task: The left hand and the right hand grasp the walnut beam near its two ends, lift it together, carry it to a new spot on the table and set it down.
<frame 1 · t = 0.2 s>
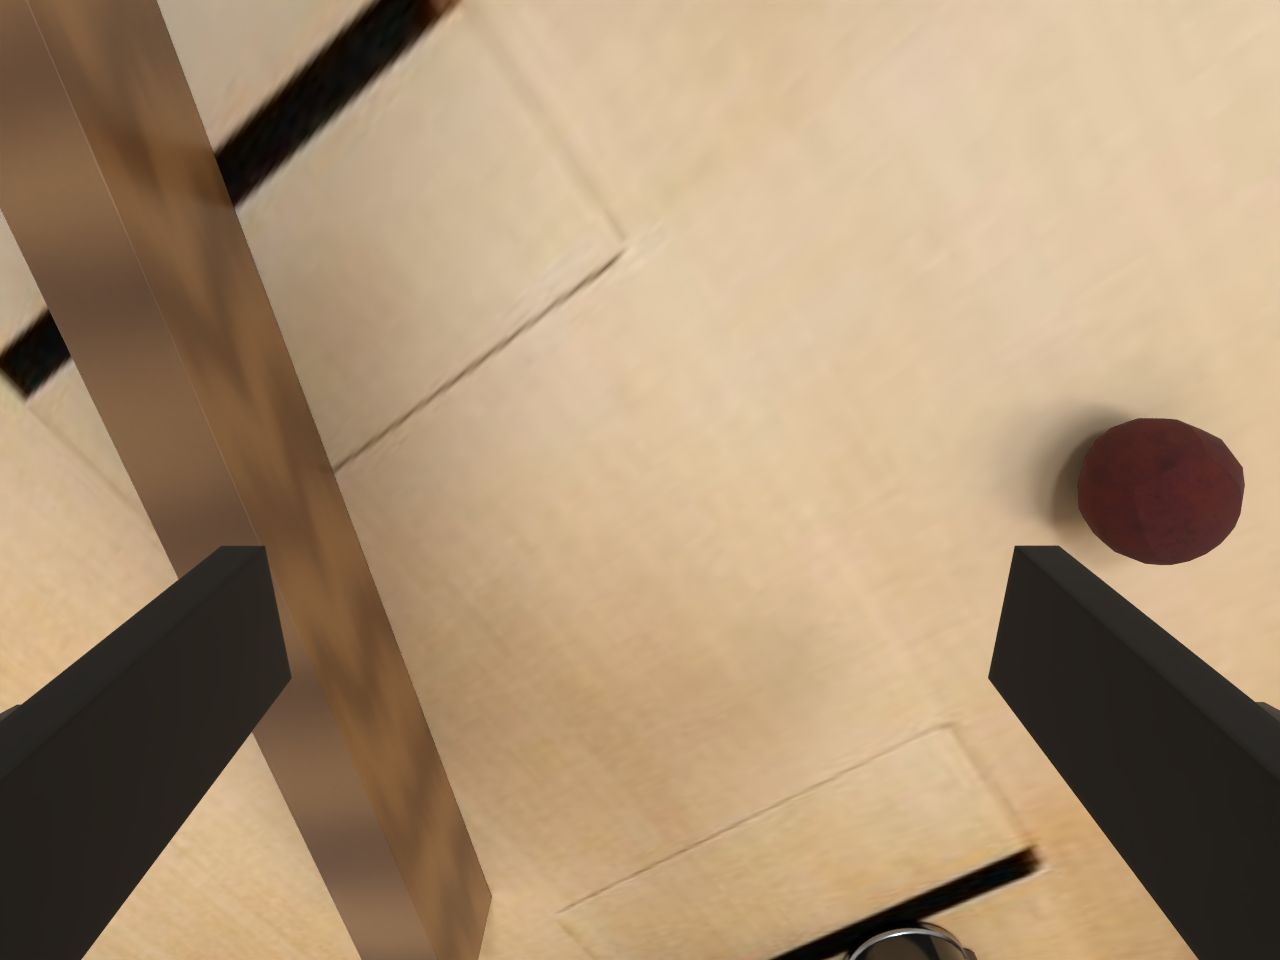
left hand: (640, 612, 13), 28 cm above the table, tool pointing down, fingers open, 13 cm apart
beam: (293, 473, 41), on the table
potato: (1113, 465, 41), on the table
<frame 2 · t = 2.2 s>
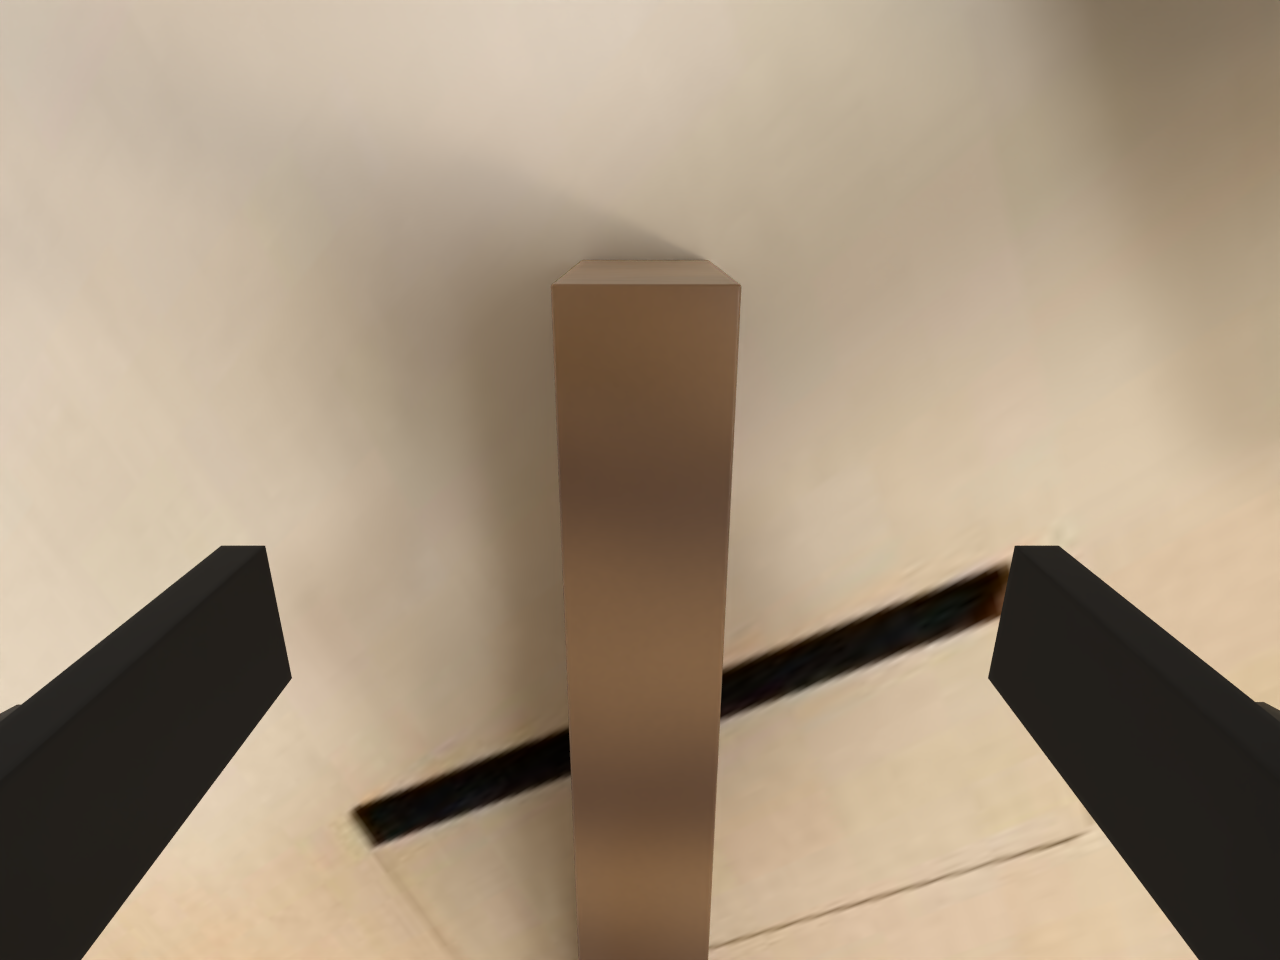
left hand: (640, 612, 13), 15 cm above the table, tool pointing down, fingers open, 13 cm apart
beam: (642, 951, 37), on the table
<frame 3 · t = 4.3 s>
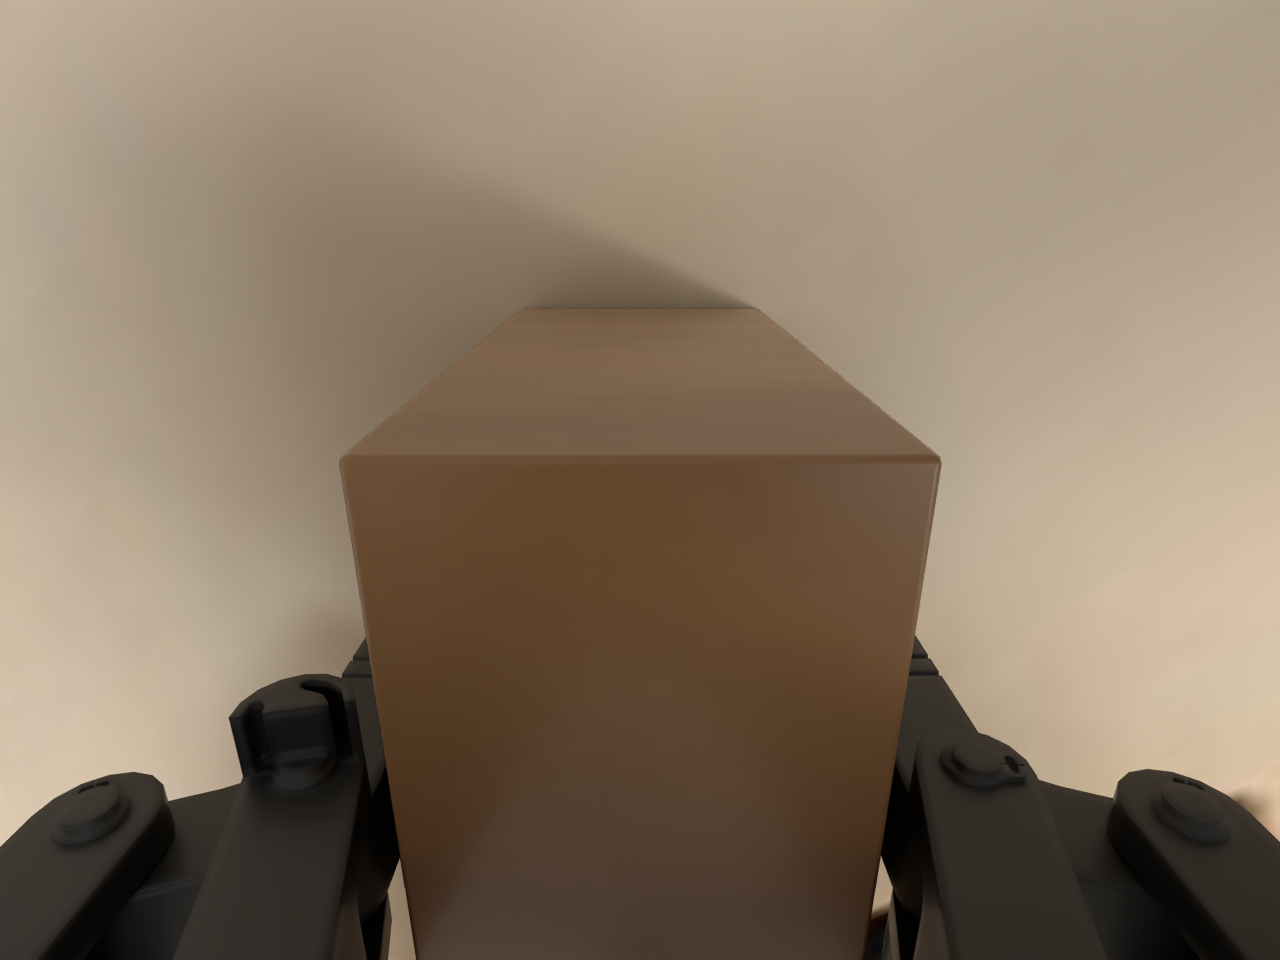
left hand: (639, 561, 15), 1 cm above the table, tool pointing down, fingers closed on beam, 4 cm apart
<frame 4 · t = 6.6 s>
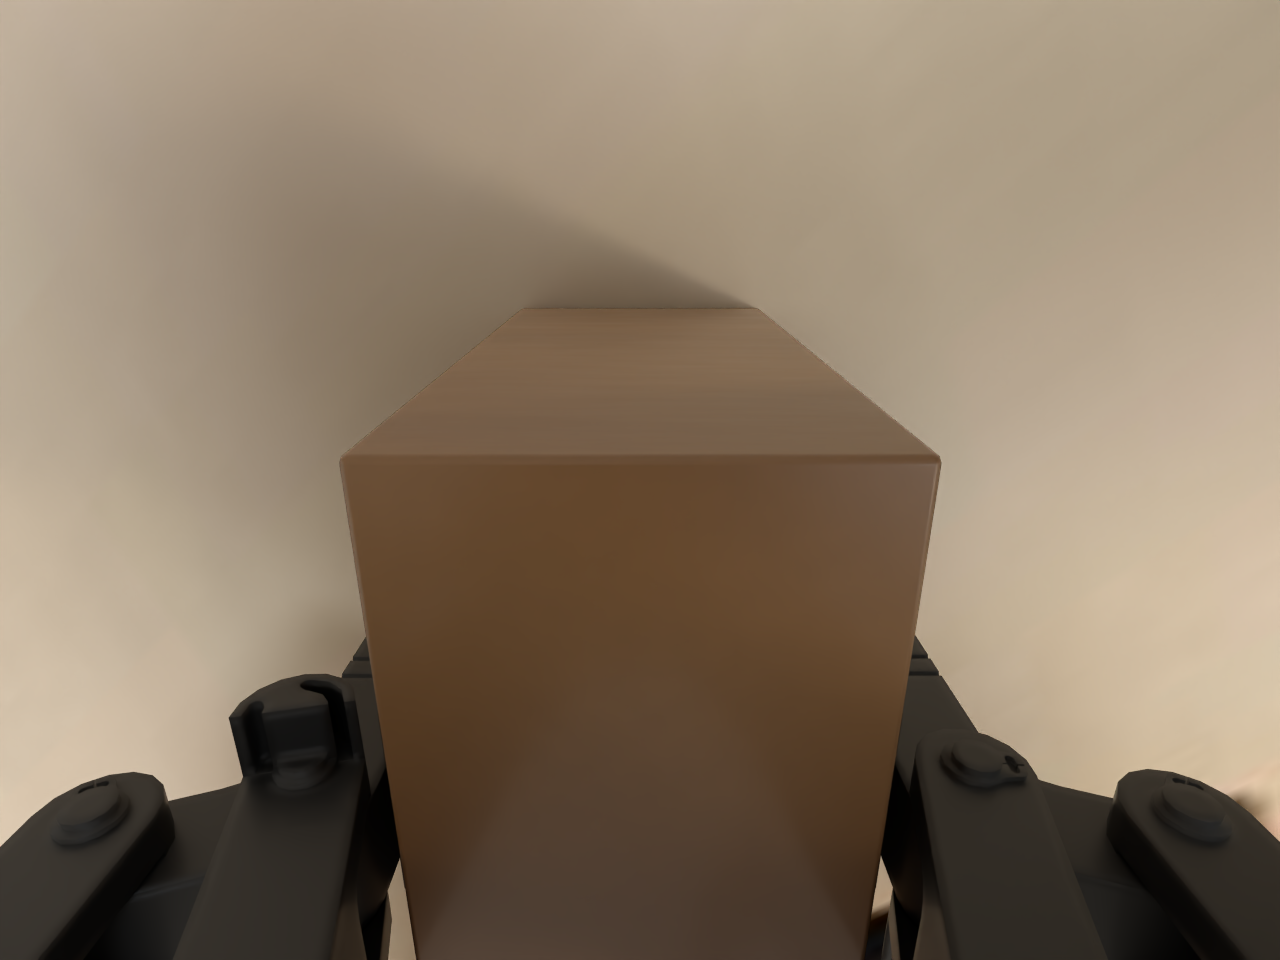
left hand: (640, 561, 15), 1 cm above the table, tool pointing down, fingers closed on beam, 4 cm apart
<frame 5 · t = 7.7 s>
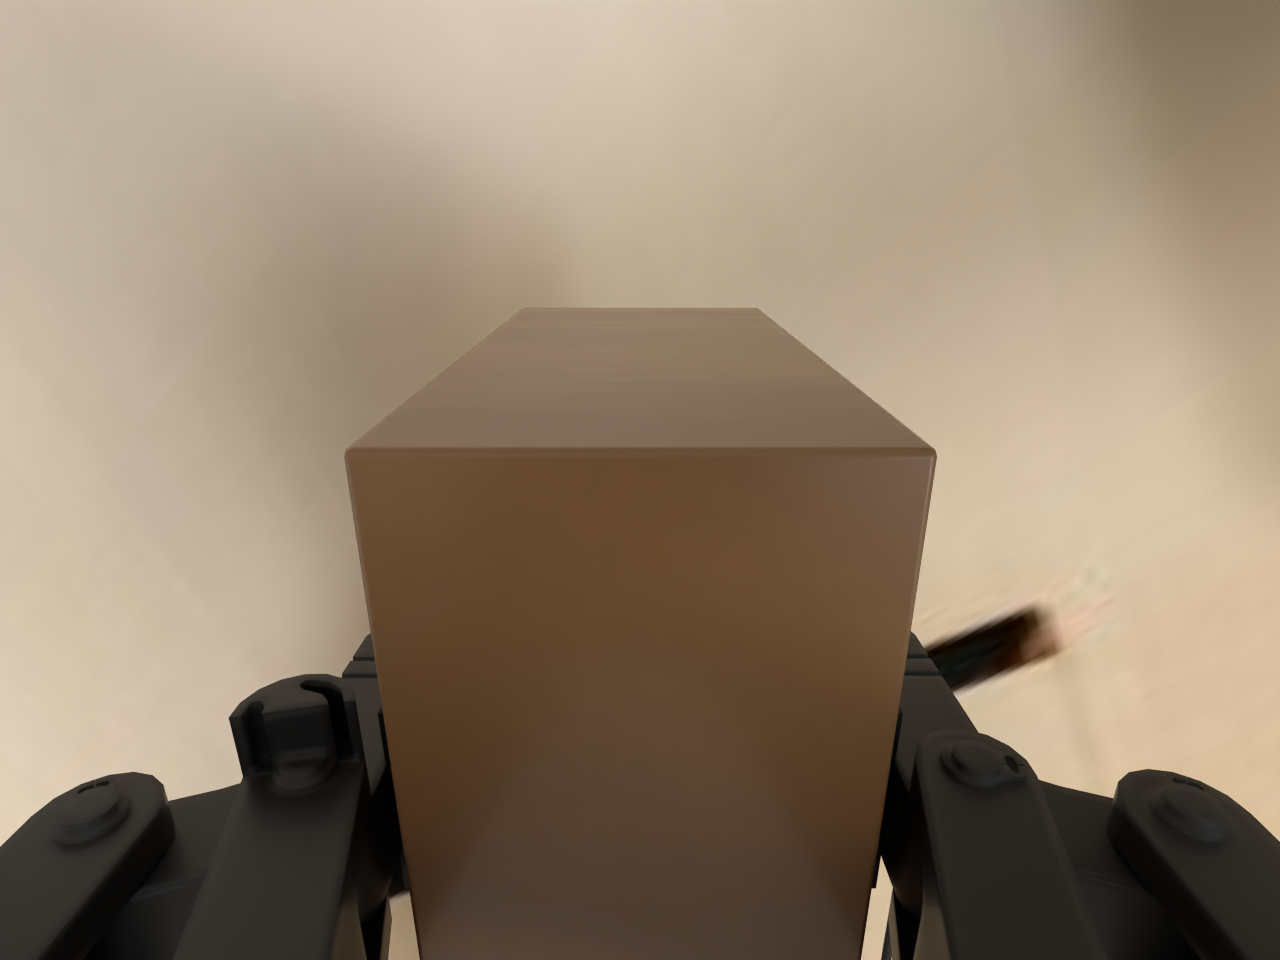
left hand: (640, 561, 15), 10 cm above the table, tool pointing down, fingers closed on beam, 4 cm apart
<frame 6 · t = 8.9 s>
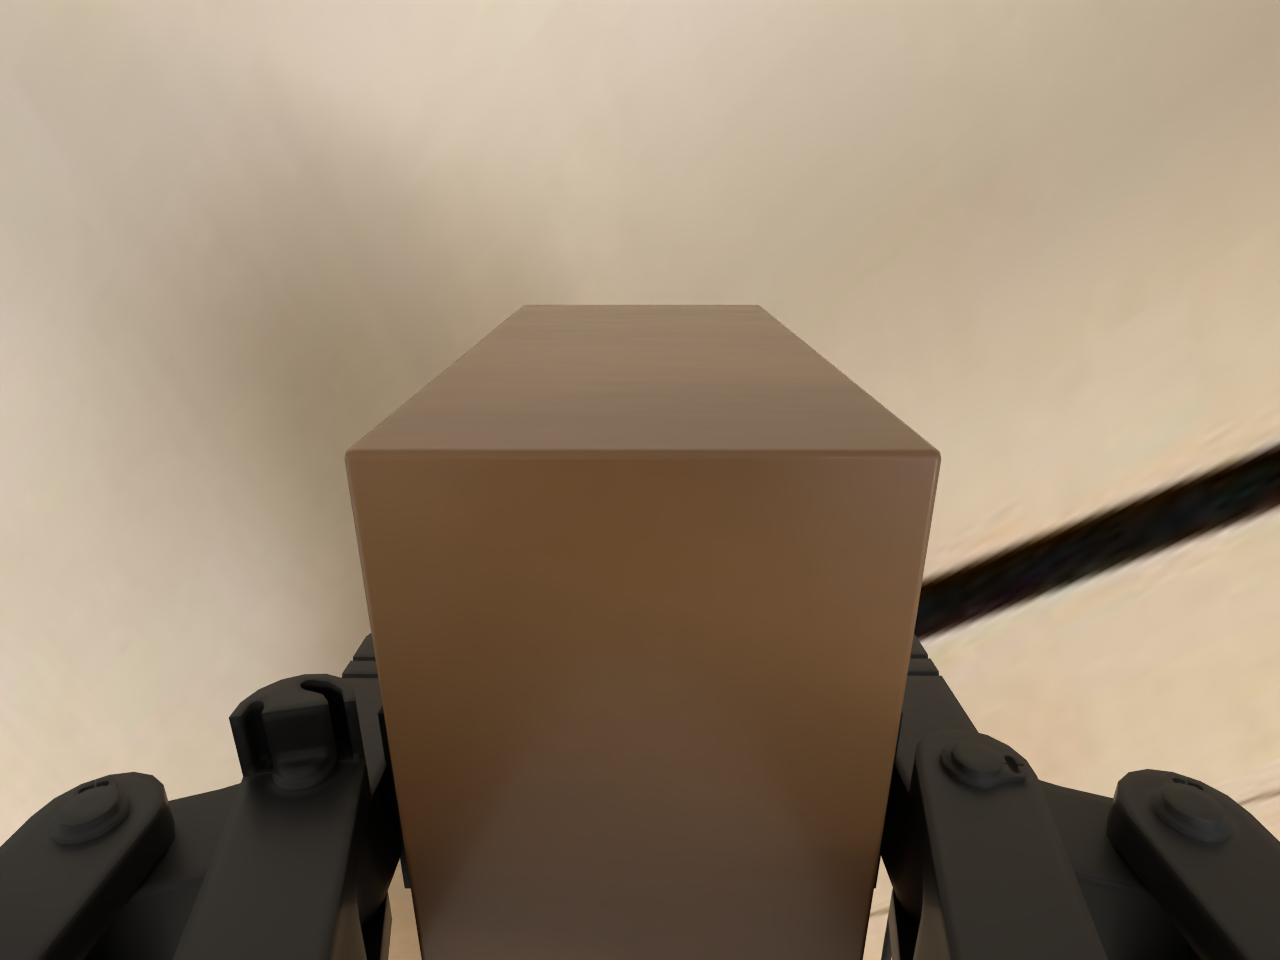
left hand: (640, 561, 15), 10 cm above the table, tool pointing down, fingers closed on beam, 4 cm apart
when the left hand's fingers open (2 cm above the table, at t = 11.1 s): beam drops 1 cm, on the table.
when the right hand's fingers open (5 cm above the table, at t = 11.3 s): beam stays where it is, on the table.
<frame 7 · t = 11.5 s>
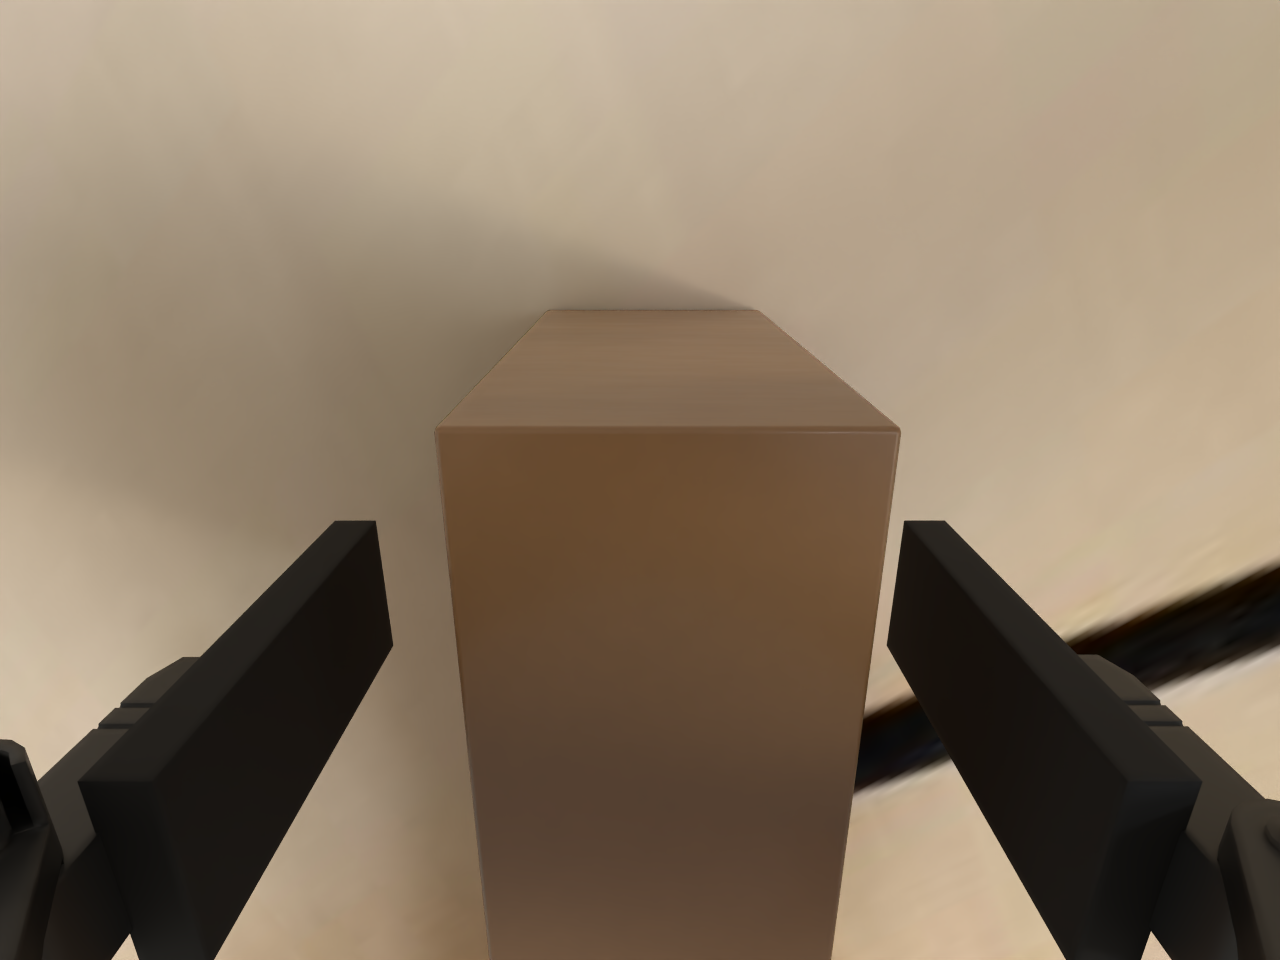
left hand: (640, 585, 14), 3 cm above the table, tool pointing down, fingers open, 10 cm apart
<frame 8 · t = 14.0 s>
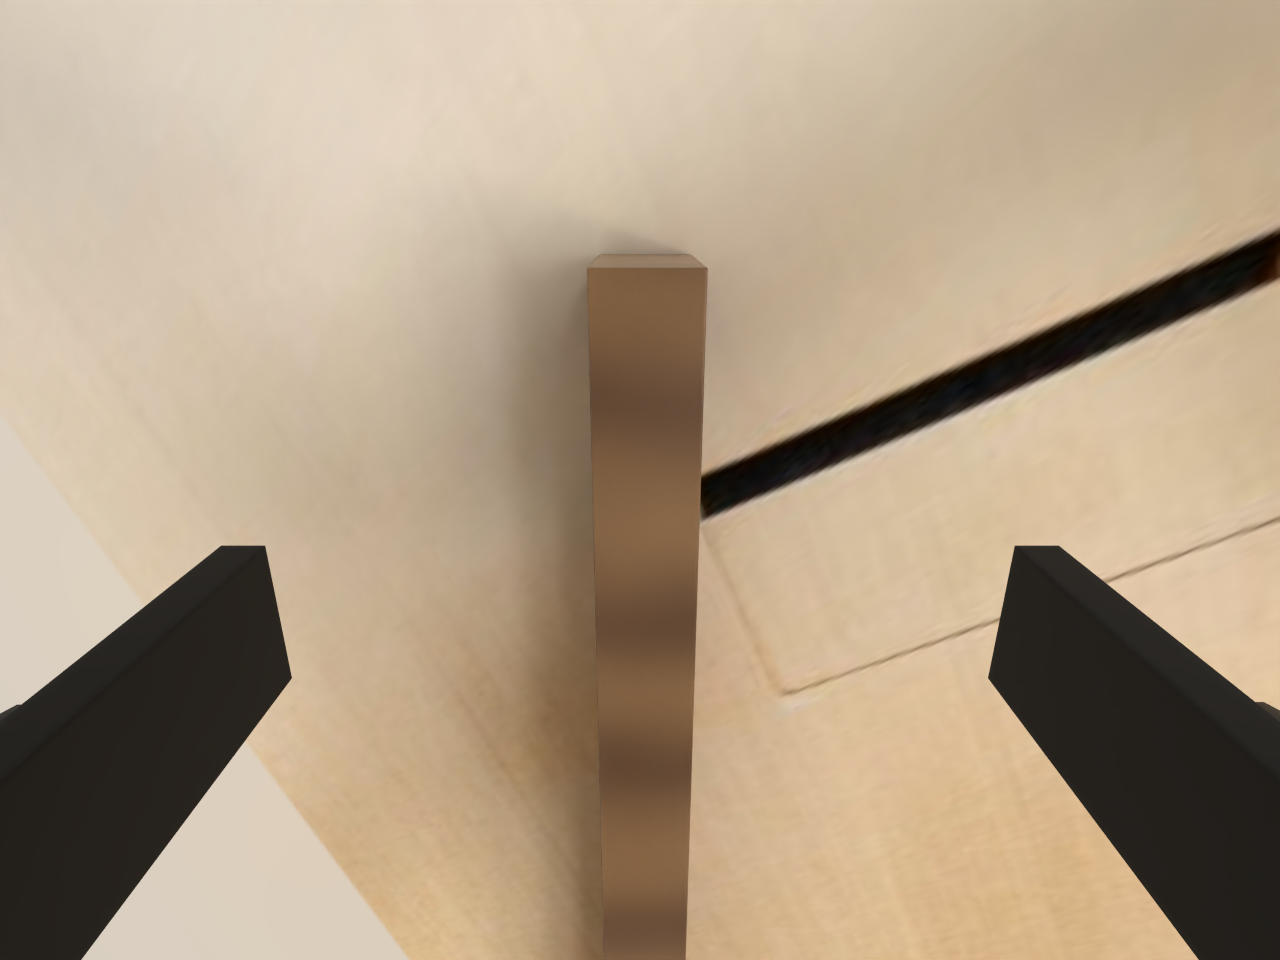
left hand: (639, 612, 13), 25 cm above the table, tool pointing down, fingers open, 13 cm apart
beam: (644, 803, 47), on the table
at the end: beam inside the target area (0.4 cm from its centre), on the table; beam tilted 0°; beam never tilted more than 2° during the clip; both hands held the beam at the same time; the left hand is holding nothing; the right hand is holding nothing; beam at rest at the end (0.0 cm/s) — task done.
